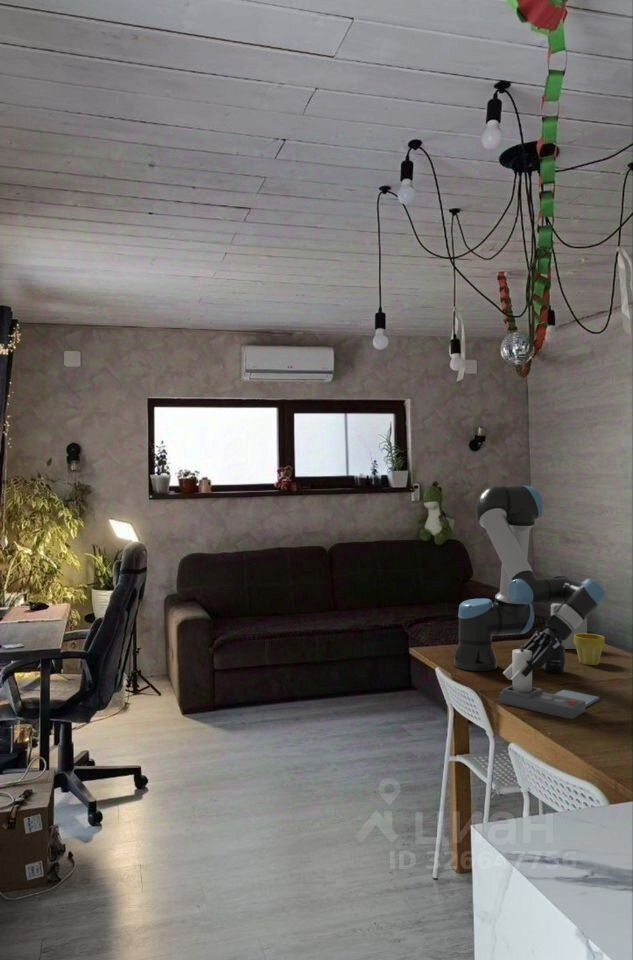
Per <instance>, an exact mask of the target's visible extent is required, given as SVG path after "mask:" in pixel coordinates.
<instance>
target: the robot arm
mask: <svg viewBox="0 0 633 960" xmlns="http://www.w3.org/2000/svg"><path fill="white" fill-rule="evenodd" d="M543 513H544V502H543V499H542V496H541V494H540V492H539V491H538V490H537V489H536V488H535V487H534V486H530V485H493V486H489V487H488V488H485V490H483V491H482V492H481V494H480V495H479V496H478V498H477V501H476V504H475V514H476V519H477V520H478V524H479V525H480V527H482V528H484V529H485V530H486V533H487V535H488V537H489V538H490V540H491V543H492V545H493V547H494V550H495V551H496V554H497V556H498V557H499V560H500V562H501V571H500V585H499V591H498V592H497V593H496V594H495V595H494V596H495V597H494V602H493V601H492V600H491V599H490V598H473V599H467V600H464V601H462V602H461V603H460V604H459V606H458V614H457V616H458V645H457V647H456V651H455V654H454V657H453V666H454V667H456V668H458V669H460V670H464V671H473V672H488V671H489V672H490V671H494V670H496V669H497V668H498V659H497V656H496V653H495V650H494V646H493V637H494V636H509V635H510V636H512V635H514V636H516V635H523V634H526V633H528V632H529V631H530V630H531V629H532V627H533V625H534V620H535V612H534V607H533V605H534V604H553V603H561V604H562V605H561V606H560V607H559V608H558V609H557V610H556V611H555V612H554V614H555V615H552V616H551V615H550V616H549V618H548V619H547V620H546V621H545V622H544V626H545V627H546V628H545V629H543V630H542V631H541V632H540V631H539V630H535V632H534V633H533V635H532V636H531V637H530V638H529V639H528V640H527V641H526V642H525V643H524V644H523V645H522V646H524V649H525V650H530V651H532V658H531V659H530V661H526V662H527V663H528V664H529V665H528V664H527V663H525V664H524V665H523V666H522V667H521V668H520V669H519V670H518V671H517V673H516V674H515V675H514V676H513V677H512V663H511V664H509V666H508V667H506V669H504V671H503V672H502V674H503V675H504V676H505V677H506V678H507V680H511V682H512V681H513V682H514V683H515V684H516V685H517V686H518V685H519V684H520V683H521V682H522V681H523V680H524V679H525V678H526V677H527V676H528V675H529V673H530V672H531V671H532V672H533V670H538V671H539V670H540V669H541V668H542V667H543V666H544V664H545V663H546V662H547V660H548V659H549V658H550V657H551V656H552V655H553V654H554V653H555V651H557V650H558V649H559V648H560V647H561V644H560V643H559V640H560V639H561V640H566V639H567V638H568V637H569V636H570V635H571V634H572V630H575V629H576V628H577V627H579V626H580V624H581V623H582V622H583V621H584V620H585V619H586V618H587V619H588V617H589V616H590V615H591V614H592V612H593V611H594V610H596V608H597V607H598V606H600V604H601V603H602V601H603V600H604V599H605V598H606V596H607V592H606V590H605V589H604V588H603V587H602V586H601V585H600V584H599V583H598V582H597V581H595V580H594V579H592V578H586V579H585V580H583V581H581V583H580V582H577V581H576V580H573V579H572V578H570V577H567V576H565V575H562V574H554V575H552V576H550V577H549V578H538V577H536V575H535V572H534V571H533V568H532V567H531V565H530V563H529V561H528V554H529V542H530V541H529V540H530V539H529V538H530V532H531V529H532V528H533V527H534V526H535V522H536V520H537V519H539V518H540V517H542V514H543ZM532 604H533V605H532ZM533 654H534V655H533Z"/></svg>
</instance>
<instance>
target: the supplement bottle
mask: <svg viewBox="0 0 633 960" xmlns="http://www.w3.org/2000/svg"><path fill="white" fill-rule="evenodd" d="M559 643H560V644H561V647H560V648H559V649H558V650H557V651H555V653H554V654H553V655H552V656H551V657H550V658H549V659H548V660H547V662H546V663H545V664H544V665H543V666H544V668H543V669H544V671H545V672H546V673H549V674H554V675H562V674H564V673H565V672H566V650H565V647H564V646H563V645H562V640H561V639H560V640H559Z"/></svg>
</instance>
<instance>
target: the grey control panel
mask: <svg viewBox="0 0 633 960" xmlns="http://www.w3.org/2000/svg"><path fill="white" fill-rule="evenodd" d="M498 693H499V699H498V700H499V703H500V704H502V705H503V704H504V705H508V706H513V707H517V708H521V709H526V710H528V711H529V710H530V711H533V712H538V713H539V712H540V713H543V714H547V715H551V716H556V717H559V718H560V717H561V718H564V719H569V720H573V719H575V718H577V717H579V716H580V715H582V714H584V713H585V712H586V707H585V701H582V700H578V699H573V698H568V697H563V696H559V695H554V694H555V693H549V692H544V691H543V689H542V688H540V687H534V686H532V692H531V693H529V694H526V693H521V692H516V691H512V684H511V685H509V686H507V687H505V688H502V691H500V692H498Z"/></svg>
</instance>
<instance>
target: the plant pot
mask: <svg viewBox="0 0 633 960" xmlns="http://www.w3.org/2000/svg"><path fill="white" fill-rule="evenodd" d="M605 642H606V641H605V636H603V635H600V634H594V633H587V634H586V633H581V634H575V635H574V644H575V645H576V648H577V650H576V652H577V657H578V658H577V659H578V662H579V663H580V664H582V665H588V666H598V665H599V664H600V660H601V656H602V651H603V648H605Z"/></svg>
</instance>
